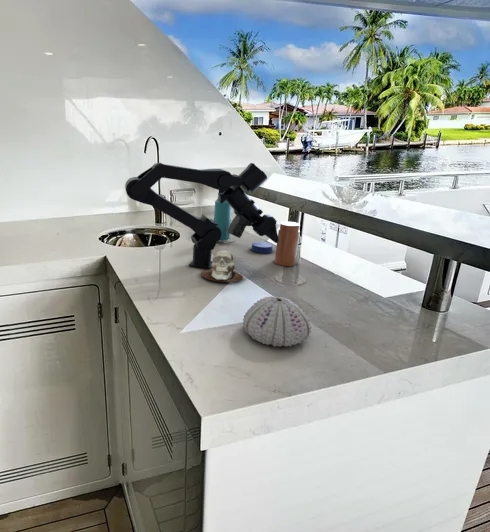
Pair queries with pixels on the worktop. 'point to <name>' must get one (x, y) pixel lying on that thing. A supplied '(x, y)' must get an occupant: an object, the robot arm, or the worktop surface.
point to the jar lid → (262, 247)
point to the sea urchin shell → (276, 322)
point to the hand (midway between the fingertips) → (271, 238)
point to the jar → (287, 243)
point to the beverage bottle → (223, 217)
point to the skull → (222, 268)
